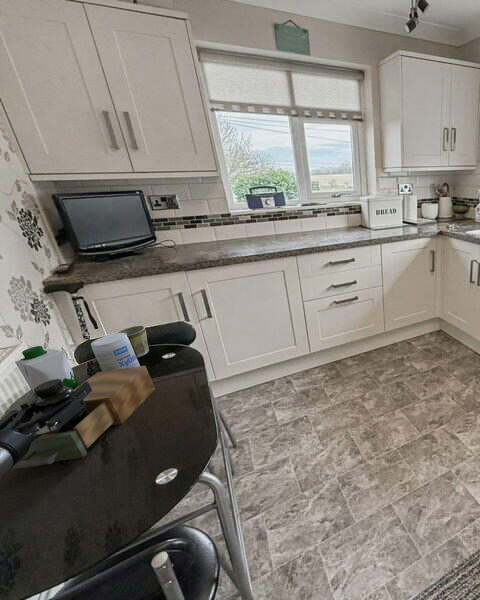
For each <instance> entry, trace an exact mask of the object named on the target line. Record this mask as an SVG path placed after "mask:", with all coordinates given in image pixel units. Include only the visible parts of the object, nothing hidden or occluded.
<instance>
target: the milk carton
mask: <svg viewBox="0 0 480 600" xmlns="http://www.w3.org/2000/svg"><path fill="white" fill-rule="evenodd" d="M21 355H22V356H23V358H20V359H19V360H15V361H14V363H15V365H16V366H17V368H18V370H19V371H20V373H21V375H22V376H23V378H24V380H25V382H26V384H27V385H28V387H29V389H30V390H31V392H32V394H33V395H34V397H35V400H37V399H38V398H39V397H37V396H36V394H35V392H34V388H35V387H37V386H38V385H40V384H42V383H44V382H47V381H50V380H54V379H61V380H62V382H63V383H64V385H65V387H70V388H72V389H73V390H74V389H76V388H77V387H78V386H80V385H81V384H80V382H79V380H78V378H77V376H76V374H75V373H74V371H73V368H72V367H71V365H70V363H69V361H68V359H67V355H66V353H65V351H64V350H60V349H54V348H47V349H45V348H44V347H43V346H42V345H37V346H33V347H32V346H31V347H29V348H26V349H24V350H22V352H21Z"/></svg>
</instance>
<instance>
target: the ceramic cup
mask: <svg viewBox="0 0 480 600" xmlns="http://www.w3.org/2000/svg"><path fill="white" fill-rule="evenodd" d="M116 333H125V334H126V335H127V337H128V339H129V341H130V343H131V346H132V348H133V350H134V353H135V355H136V358H137V359H138V358H140V357H143V356H145V355H147V354H148V353H149V351H150V347H149V343H148V338H147V337H148V336H147V330H146V327H145V326H144V325H136V326H135V325H133V326H130V327H127V328H123V329H121V330H118V331H117V332H115V333H114V334H116Z"/></svg>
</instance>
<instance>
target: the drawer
mask: <svg viewBox="0 0 480 600" xmlns="http://www.w3.org/2000/svg"><path fill="white" fill-rule="evenodd" d="M84 409H85V411H86V413H87V415H88V416H87V417H85V418H84V419H83V420H82V421H81V422H80V423H79V424H78V425H76V426H75V427H74V428H73V429H71V430H69V431H66V432H62V433H54V434H52V433H51V432H50V431H49V432H46V433H43V434H42V435H41V436H40V437H39V438H37V439H35V440H34V441H32V443H31V446H30V449H29V451H28V453H27V454H26V455H25V456H24V457H23V458H22V459H21V460H20V461H18V462H17V463H16V464H15V465H14V466H13V467H12V468H13V469H14V470H19V469H20V470H21V469H27V468H33V467H39V466H45V465H52V464H53V463H54V462H60V461H61V462H62V461H67V460H73V459H81V458H84V457H86V455H87V454H88V452H87V450H86V449H88V448H89V447H91V446H92V445H93V443H95V441H97V439H99V438H100V437H101V435H102V434H104V432H105V431H106V430H108V428H109V427H110V425H111V424H112V423H113V422H114V421H115V420H116V418H115V416H114V414H113V412H112V410H111V408H110V406H109V404H108V402H107V401H102V402H95V403H87V404H86V406H85V407H84ZM111 426H112V425H111Z"/></svg>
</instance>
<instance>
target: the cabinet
mask: <svg viewBox="0 0 480 600" xmlns="http://www.w3.org/2000/svg"><path fill="white" fill-rule="evenodd" d="M84 382H88V383H89V385H90V387H91V389H92V391H91V392H90V393H89V394H88V395H87V397H85V398H84V399H83V400H84V402H85V403H86V404H87V403H95V402H102V401H107V402H108V404H109V406H110V408H111V410H112V412H113V414H114V416H115V418H116V420H115V421H114V422H113V423H112V424H111V425H110V426H119V425H122V424H124V423H125V422H126V421H127V419H129V417H130V416H132V414H134V412H135V411H136V410H137V409H138V408H139V407H140V406H141V405H142V404H143V403H144V402H145V401H146V399H148V398H149V396H151V395H152V394H153V392H154V391H155V390H156V388H155V387H156V386H155V385H154V382H153V380H152V378H151V375H150V373H149V371H148V369H147V366H146V365H140V366H139V367H132V368H124V369H117V370H109V371H102V370H101V371H97V372H96V373H94V374H93V375H92V376H91V377H89V378H88V379H86V380H84ZM84 382H83V383H84ZM83 383H81V384H80V386H81V385H82V384H83ZM80 386H78V387H77V388H79V387H80ZM77 388H76V389H77ZM76 389H74V391H75V390H76ZM110 426H109V427H110Z"/></svg>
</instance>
